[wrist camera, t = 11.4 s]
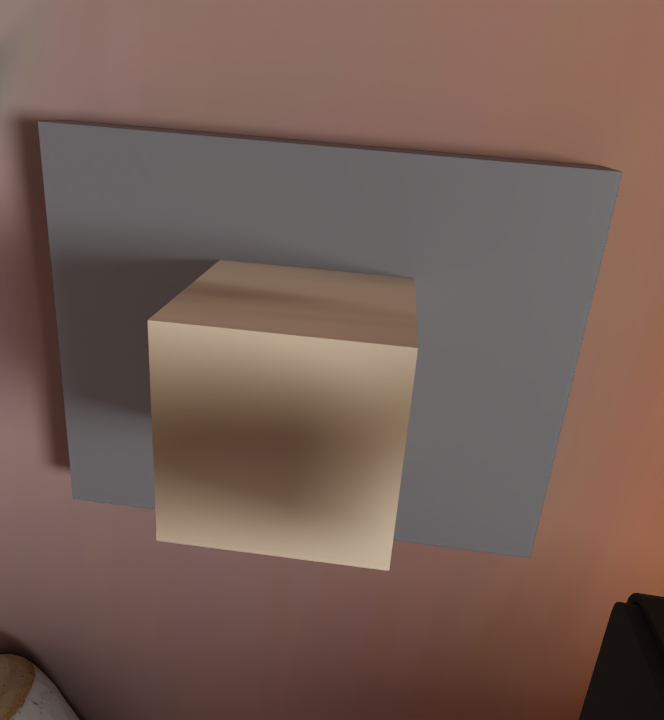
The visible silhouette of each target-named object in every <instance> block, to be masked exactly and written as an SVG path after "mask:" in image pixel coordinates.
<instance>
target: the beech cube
mask: <svg viewBox="0 0 664 720" xmlns="http://www.w3.org/2000/svg"><path fill="white" fill-rule="evenodd" d="M148 344H149V368H150V392H151V416H152V440H153V464H154V489H155V513H156V537H157V541H163V542H170V543H178V544H186V545H194V546H201V547H209V548H217V549H224V550H232V551H240V552H248V553H255V554H263V555H271V556H279V557H286V558H294V559H302V560H309V561H317V562H325V563H333V564H340V565H348V566H356V567H363V568H371V569H379V570H387V571H389V568H390V560H391V553H392V545H393V537H394V530H395V522H396V514H397V507H398V499H399V491H400V484H401V476H402V468H403V461H404V453H405V445H406V437H407V430H408V422H409V414H410V407H411V399H412V391H413V384H414V376H415V368H416V361H417V353H418V336H417V317H416V297H415V278H405V277H394V276H384V275H373V274H363V273H353V272H342V271H332V270H321V269H311V268H300V267H290V266H279V265H269V264H258V263H248V262H237V261H227V260H219V261H218V262H217V263H216V264H215V265H213V266H212V267H211V268H210V269H209V270H207V271H206V272H205V273H204V274H203V275H201V276H200V277H199V278H198V279H197V280H195V281H194V282H193V283H192V284H191V285H189V286H188V287H187V288H186V289H185V290H183V291H182V292H181V293H180V294H178V295H177V296H176V297H175V298H174V299H172V300H171V301H170V302H169V303H168V304H166V305H165V306H164V307H163V308H162V309H160V310H159V311H158V312H157V313H156V314H154V315H153V316H152V317H151V318H150V319H148Z"/></svg>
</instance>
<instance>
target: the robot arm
mask: <svg viewBox="0 0 664 720" xmlns="http://www.w3.org/2000/svg"><path fill="white" fill-rule="evenodd" d="M579 720H664V597H660V596H653V595H646V594H640V593H633V594H632V595H631V596H630V597H629V598H628V601H627V603H623V602H616V604H615V605H614V607H613V609H612V612H611V615H610V618H609V622H608V625H607V628H606V632H605V635H604V638H603V642H602V645H601V648H600V652H599V655H598V658H597V662H596V665H595V668H594V672H593V675H592V678H591V681H590V685H589V688H588V691H587V695H586V698H585V701H584V705H583V708H582V711H581V715H580V718H579Z"/></svg>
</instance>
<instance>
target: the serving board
mask: <svg viewBox="0 0 664 720" xmlns="http://www.w3.org/2000/svg"><path fill="white" fill-rule="evenodd" d="M38 130H39V141H40V151H41V162H42V173H43V183H44V194H45V205H46V215H47V226H48V237H49V247H50V258H51V269H52V279H53V290H54V301H55V311H56V322H57V333H58V344H59V354H60V365H61V376H62V386H63V397H64V408H65V418H66V429H67V440H68V450H69V461H70V472H71V482H72V493H73V499H79V500H87V501H94V502H102V503H110V504H117V505H125V506H133V507H140V508H148V509H155V489H154V464H153V440H152V416H151V392H150V368H149V344H148V319H150V318H151V317H152V316H153V315H154V314H156V313H157V312H158V311H159V310H160V309H162V308H163V307H164V306H165V305H166V304H168V303H169V302H170V301H171V300H172V299H174V298H175V297H176V296H177V295H178V294H180V293H181V292H182V291H183V290H185V289H186V288H187V287H188V286H189V285H191V284H192V283H193V282H194V281H195V280H197V279H198V278H199V277H200V276H201V275H203V274H204V273H205V272H206V271H207V270H209V269H210V268H211V267H212V266H213V265H215V264H216V263H217V262H218V261H219V260H227V261H237V262H248V263H258V264H269V265H279V266H290V267H300V268H311V269H321V270H332V271H342V272H353V273H363V274H373V275H384V276H394V277H405V278H415V297H416V317H417V336H418V353H417V361H416V368H415V376H414V384H413V391H412V399H411V407H410V414H409V422H408V430H407V437H406V445H405V453H404V461H403V468H402V476H401V484H400V491H399V499H398V507H397V514H396V522H395V530H394V537H393V540H394V541H402V542H410V543H417V544H425V545H433V546H440V547H448V548H456V549H463V550H471V551H479V552H487V553H494V554H502V555H510V556H517V557H525V558H530V557H531V553H532V549H533V545H534V540H535V536H536V532H537V528H538V524H539V519H540V515H541V511H542V507H543V503H544V499H545V494H546V490H547V486H548V482H549V478H550V473H551V469H552V465H553V461H554V457H555V453H556V448H557V444H558V440H559V436H560V432H561V427H562V423H563V419H564V415H565V411H566V407H567V402H568V398H569V394H570V390H571V386H572V381H573V377H574V373H575V369H576V365H577V361H578V356H579V352H580V348H581V344H582V340H583V335H584V331H585V327H586V323H587V319H588V315H589V310H590V306H591V302H592V298H593V294H594V290H595V285H596V281H597V277H598V273H599V269H600V264H601V260H602V256H603V252H604V248H605V244H606V239H607V235H608V231H609V227H610V223H611V218H612V214H613V210H614V206H615V202H616V198H617V193H618V189H619V185H620V181H621V177H622V172H621V171H618V170H614V169H611V168H608V167H604V166H595V165H583V164H571V163H560V162H548V161H536V160H525V159H513V158H502V157H490V156H478V155H467V154H455V153H444V152H432V151H420V150H409V149H397V148H385V147H374V146H362V145H351V144H339V143H327V142H316V141H304V140H292V139H281V138H269V137H258V136H246V135H234V134H223V133H211V132H199V131H188V130H176V129H165V128H153V127H141V126H130V125H118V124H107V123H95V122H83V121H72V120H60V121H38Z"/></svg>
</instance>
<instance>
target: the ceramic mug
mask: <svg viewBox="0 0 664 720" xmlns="http://www.w3.org/2000/svg"><path fill="white" fill-rule="evenodd" d="M0 720H80V719H79V718H78V717H77V715H76V714H75V713H74V711H73V710H72V709H71V707H70V706H69V704H68V703H67V702H66V700H65V699H64V697H63V696H62V694H61V693H60V692H59V690H58V689H57V687H56V686H55V685H54V684H53V682H52V681H51V680H50V679H49V678H48V677H47V676H46V675H45V674H44V673H43V672H42V671H41V670H40V669H39V668H37V667H36V666H35V665H34V664H33V663H31V662H30V661H28V660H27V659H25V658H24V657H22V656H17V655H13V654H0Z"/></svg>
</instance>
